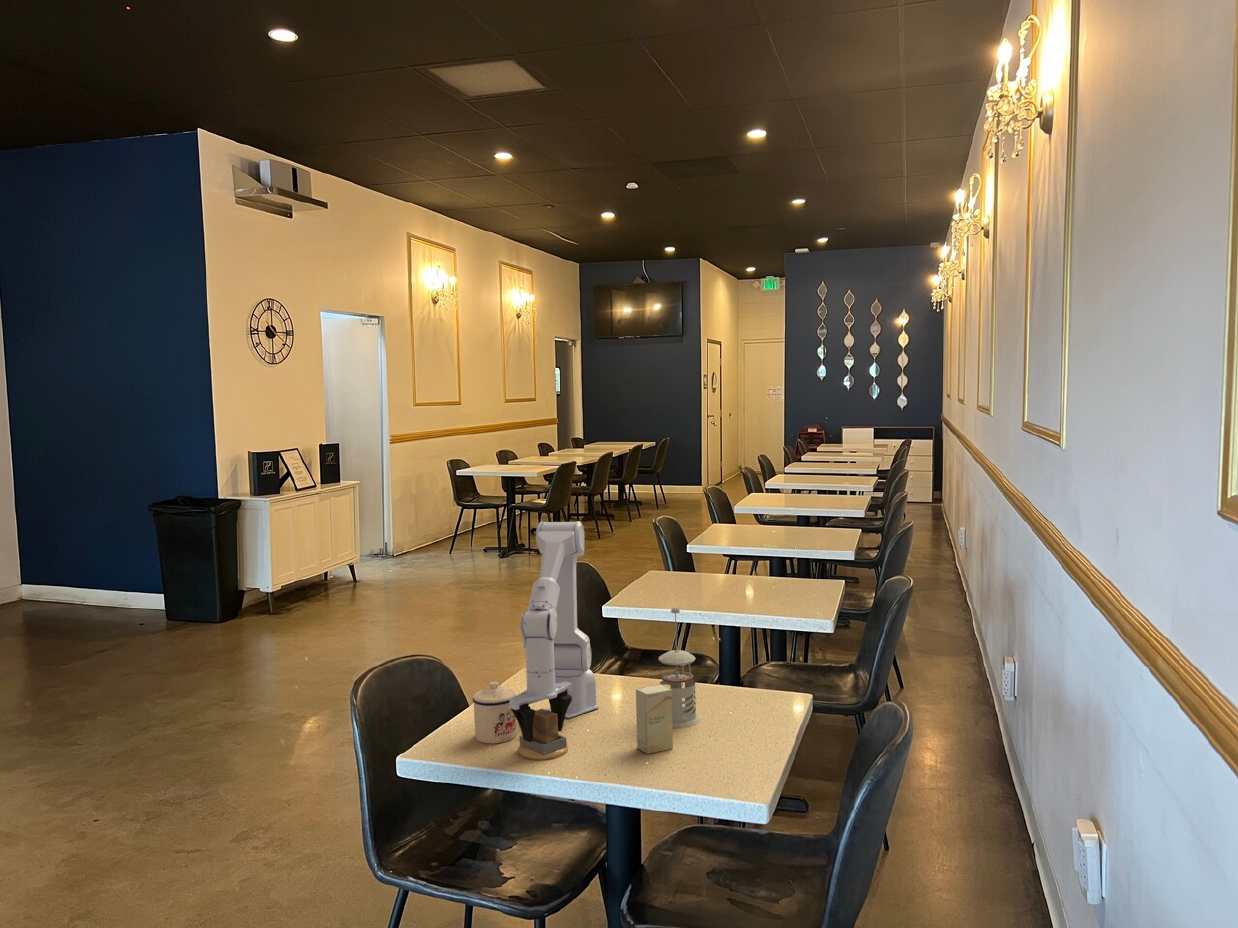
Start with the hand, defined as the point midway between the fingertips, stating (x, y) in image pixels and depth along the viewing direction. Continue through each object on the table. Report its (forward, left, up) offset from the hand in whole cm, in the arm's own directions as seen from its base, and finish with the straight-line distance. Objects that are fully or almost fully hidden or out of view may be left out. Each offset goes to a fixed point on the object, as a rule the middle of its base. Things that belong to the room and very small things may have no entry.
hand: (542, 735), depth 181 cm
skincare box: (-16, +16, -3) cm, 23 cm away
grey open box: (0, 0, -3) cm, 3 cm away
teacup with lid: (+1, -14, -3) cm, 14 cm away
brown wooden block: (0, +1, -2) cm, 2 cm away
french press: (-32, +8, -3) cm, 33 cm away
